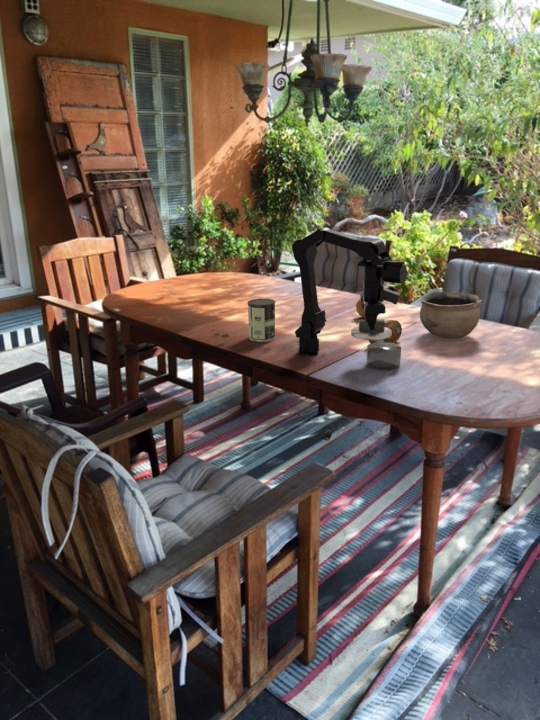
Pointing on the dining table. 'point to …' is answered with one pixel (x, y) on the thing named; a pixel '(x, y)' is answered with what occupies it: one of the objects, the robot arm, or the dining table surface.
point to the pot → (383, 355)
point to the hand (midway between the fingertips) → (371, 328)
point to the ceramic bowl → (450, 314)
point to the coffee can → (261, 320)
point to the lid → (371, 331)
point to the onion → (360, 308)
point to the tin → (395, 329)
